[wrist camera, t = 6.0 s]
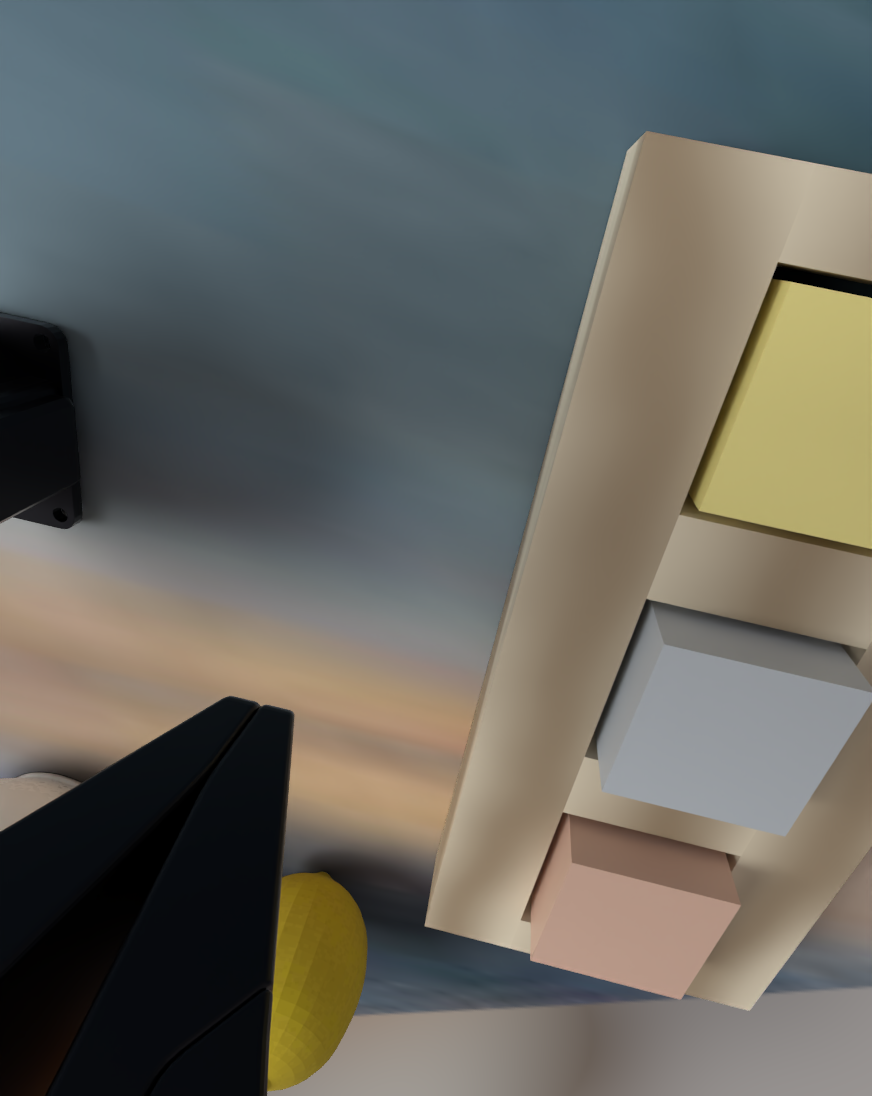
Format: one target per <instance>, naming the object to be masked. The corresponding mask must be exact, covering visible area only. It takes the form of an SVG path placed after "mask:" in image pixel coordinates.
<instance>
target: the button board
mask: <svg viewBox="0 0 872 1096" xmlns="http://www.w3.org/2000/svg"><path fill="white" fill-rule="evenodd" d="M776 266H778V267H783V268H788V269H793V270H798V271H803V272H808V273H813V274H818V275H823V276H828V277H833V278H838V279H843V280H848V281H853V282H858V283H863V284H868V285H872V174H868V173H863V172H858V171H853V170H848V169H842V168H837V167H832V166H827V165H821V164H816V163H811V162H806V161H800V160H795V159H790V158H785V157H779V156H774V155H769V154H764V153H759V152H753V151H748V150H743V149H738V148H732V147H727V146H722V145H717V144H711V143H706V142H701V141H696V140H690V139H685V138H680V137H675V136H670V135H664V134H659V133H654V132H649V131H646V132H645V133H644V134H643V135H642V136H641V137H640V138H639V139H638V140H637V141H636V142H635V143H634V144H633V146H632V147H631V148H630V149H629V150H628V151H627V153H626V157H625V161H624V164H623V168H622V172H621V175H620V179H619V183H618V186H617V190H616V194H615V198H614V201H613V205H612V209H611V212H610V216H609V220H608V223H607V227H606V231H605V235H604V238H603V242H602V246H601V249H600V253H599V257H598V260H597V264H596V268H595V271H594V275H593V279H592V283H591V286H590V290H589V294H588V297H587V301H586V305H585V308H584V312H583V316H582V320H581V323H580V327H579V331H578V334H577V338H576V342H575V345H574V349H573V353H572V356H571V360H570V364H569V368H568V371H567V375H566V379H565V382H564V386H563V390H562V393H561V397H560V401H559V404H558V408H557V412H556V416H555V419H554V423H553V427H552V430H551V434H550V438H549V441H548V445H547V449H546V453H545V456H544V460H543V464H542V467H541V471H540V475H539V478H538V482H537V486H536V489H535V493H534V497H533V501H532V504H531V508H530V512H529V515H528V519H527V523H526V526H525V530H524V534H523V538H522V541H521V545H520V549H519V552H518V556H517V560H516V563H515V567H514V571H513V574H512V578H511V582H510V586H509V589H508V593H507V597H506V600H505V604H504V608H503V611H502V615H501V619H500V622H499V626H498V630H497V634H496V637H495V641H494V645H493V648H492V652H491V656H490V659H489V663H488V667H487V671H486V674H485V678H484V682H483V685H482V689H481V693H480V696H479V700H478V704H477V707H476V711H475V715H474V719H473V722H472V726H471V730H470V733H469V737H468V741H467V744H466V748H465V752H464V756H463V759H462V763H461V767H460V770H459V774H458V778H457V781H456V785H455V789H454V792H453V796H452V800H451V804H450V807H449V811H448V815H447V818H446V822H445V826H444V829H443V833H442V837H441V840H440V844H439V848H438V852H437V855H436V861H435V867H434V873H433V879H432V885H431V891H430V897H429V903H428V909H427V915H426V921H425V926H426V927H430V928H433V929H437V930H441V931H445V932H449V933H453V934H456V935H460V936H464V937H468V938H472V939H476V940H479V941H483V942H487V943H491V944H495V945H499V946H502V947H506V948H510V949H514V950H518V951H522V952H525V953H529V954H530V948H531V892H532V890H533V887H534V885H535V882H536V879H537V877H538V874H539V872H540V869H541V867H542V864H543V862H544V859H545V856H546V854H547V851H548V849H549V846H550V844H551V841H552V839H553V836H554V833H555V831H556V828H557V826H558V823H559V821H560V818H561V816H562V813H563V812H564V813H568V814H572V815H576V816H580V817H584V818H588V819H592V820H596V821H600V822H604V823H608V824H612V825H616V826H620V827H624V828H628V829H632V830H636V831H641V832H645V833H649V834H653V835H657V836H661V837H665V838H669V839H673V840H677V841H681V842H685V843H689V844H693V845H697V846H701V847H705V848H709V849H713V850H717V851H721V852H725V854H726V857H727V860H728V863H729V867H730V870H731V873H732V877H733V880H734V883H735V887H736V890H737V893H738V897H739V900H740V903H741V907H740V908H739V910H738V911H737V913H736V914H735V916H734V917H733V919H732V921H731V922H730V924H729V925H728V927H727V928H726V930H725V931H724V933H723V935H722V936H721V938H720V939H719V941H718V942H717V944H716V945H715V947H714V949H713V950H712V952H711V953H710V955H709V956H708V958H707V959H706V961H705V963H704V964H703V966H702V967H701V969H700V970H699V972H698V973H697V975H696V977H695V978H694V980H693V981H692V983H691V984H690V986H689V987H688V989H687V991H686V992H685V994H687V995H690V996H694V997H698V998H702V999H706V1000H710V1001H713V1002H717V1003H721V1004H725V1005H729V1006H733V1007H737V1008H740V1009H744V1010H748V1011H750V1010H751V1008H752V1007H753V1005H754V1004H755V1003H756V1001H757V1000H758V999H759V997H760V996H761V995H762V993H763V992H764V991H765V989H766V988H767V987H768V985H769V984H770V983H771V981H772V980H773V979H774V977H775V976H776V975H777V973H778V972H779V971H780V969H781V968H782V967H783V965H784V964H785V963H786V961H787V960H788V959H789V957H790V956H791V954H792V953H793V952H794V950H795V949H796V948H797V946H798V945H799V944H800V942H801V941H802V940H803V938H804V937H805V936H806V934H807V933H808V932H809V930H810V929H811V928H812V926H813V925H814V924H815V922H816V921H817V920H818V918H819V917H820V915H821V914H822V913H823V911H824V910H825V909H826V907H827V906H828V905H829V903H830V902H831V901H832V899H833V898H834V897H835V895H836V894H837V893H838V891H839V890H840V889H841V887H842V886H843V885H844V883H845V882H846V881H847V879H848V878H849V876H850V875H851V874H852V872H853V871H854V870H855V868H856V867H857V866H858V864H859V863H860V862H861V860H862V859H863V858H864V856H865V855H866V854H867V852H868V851H869V850H870V848H871V847H872V703H871V704H870V706H869V707H868V709H867V710H866V712H865V713H864V715H863V717H862V718H861V720H860V721H859V723H858V724H857V726H856V727H855V729H854V731H853V732H852V734H851V735H850V737H849V738H848V740H847V741H846V743H845V745H844V746H843V748H842V749H841V751H840V752H839V754H838V755H837V757H836V759H835V760H834V762H833V763H832V765H831V766H830V768H829V770H828V771H827V773H826V774H825V776H824V777H823V779H822V780H821V782H820V784H819V785H818V787H817V788H816V790H815V791H814V793H813V794H812V796H811V798H810V799H809V801H808V802H807V804H806V805H805V807H804V808H803V810H802V812H801V813H800V815H799V816H798V818H797V819H796V821H795V822H794V824H793V826H792V827H791V829H790V830H789V832H788V833H787V835H786V836H780V835H776V834H772V833H768V832H764V831H760V830H756V829H752V828H748V827H744V826H740V825H736V824H732V823H728V822H724V821H719V820H715V819H711V818H707V817H703V816H699V815H695V814H691V813H687V812H683V811H679V810H675V809H671V808H667V807H663V806H658V805H654V804H650V803H646V802H642V801H638V800H634V799H630V798H626V797H622V796H618V795H614V794H610V793H606V792H602V788H601V780H600V771H599V762H598V753H597V744H596V735H595V729H596V726H597V724H598V721H599V718H600V716H601V713H602V711H603V708H604V706H605V703H606V701H607V698H608V695H609V693H610V690H611V688H612V685H613V683H614V680H615V678H616V675H617V672H618V670H619V667H620V665H621V662H622V660H623V657H624V655H625V652H626V649H627V647H628V644H629V642H630V639H631V637H632V634H633V632H634V629H635V626H636V624H637V621H638V619H639V616H640V614H641V611H642V609H643V606H644V603H645V601H646V599H649V600H653V601H658V602H662V603H666V604H671V605H675V606H679V607H684V608H688V609H693V610H697V611H701V612H706V613H710V614H714V615H719V616H723V617H727V618H732V619H736V620H741V621H745V622H749V623H754V624H758V625H762V626H767V627H771V628H775V629H780V630H784V631H788V632H793V633H797V634H802V635H806V636H810V637H815V638H819V639H823V640H828V641H832V642H836V643H840V645H841V646H842V647H843V649H844V650H845V651H846V653H847V654H848V655H849V657H850V658H851V659H852V661H853V662H854V663H855V665H856V666H857V668H858V669H859V670H860V672H861V673H862V674H863V676H864V677H865V678H866V680H867V681H868V682H869V684H870V685H871V686H872V549H869V548H865V547H860V546H856V545H851V544H847V543H842V542H838V541H833V540H829V539H824V538H820V537H815V536H811V535H806V534H802V533H797V532H792V531H788V530H783V529H779V528H774V527H770V526H765V525H761V524H756V523H752V522H747V521H743V520H738V519H734V518H729V517H725V516H720V515H716V514H711V513H707V512H702V511H699V510H698V508H697V507H696V505H695V503H694V502H693V500H692V498H691V497H690V495H689V493H688V491H689V488H690V486H691V483H692V481H693V478H694V476H695V473H696V471H697V468H698V465H699V463H700V460H701V458H702V455H703V453H704V450H705V448H706V445H707V443H708V440H709V437H710V435H711V432H712V430H713V427H714V425H715V422H716V420H717V417H718V414H719V412H720V409H721V407H722V404H723V402H724V399H725V397H726V394H727V391H728V389H729V386H730V384H731V381H732V379H733V376H734V374H735V371H736V368H737V366H738V363H739V361H740V358H741V356H742V353H743V351H744V348H745V345H746V343H747V340H748V338H749V335H750V333H751V330H752V328H753V325H754V322H755V320H756V317H757V315H758V312H759V310H760V307H761V305H762V302H763V299H764V297H765V294H766V292H767V289H768V287H769V284H770V282H771V279H772V276H773V274H774V271H775V269H776Z"/></svg>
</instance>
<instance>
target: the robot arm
mask: <svg viewBox="0 0 872 1096" xmlns="http://www.w3.org/2000/svg"><path fill="white" fill-rule="evenodd" d="M44 336H46V337H47V338H48V340H49V342H50V349H49V348H48V347H47V346H46V345H45V343H44V340H43V337H44ZM61 509H63V510H64V511H65V512H66V514H67V516H65V515H64V514H63V513H62V511H61ZM12 517H14V518H18V519H23V520H27V521H31V522H35V523H40V524H44V525H48V526H52V527H57V528H61V529H68V528H70V527H72V526H74V525H75V524H77V523H79V522H80V520H81V519H82V503H81V492H80V469H79V457H78V446H77V434H76V423H75V411H74V406H73V400H72V389H71V377H70V366H69V354H68V344H67V340H66V337H65V335H64V334H63V332H62V331H61V330H60V329H59V328H58V327H57V326H55V325H52V324H50V323H46V322H41V321H36V320H32V319H27V318H23V317H18V316H13V315H9V314H4V313H0V523H2V522H4V521H6V520H8V519H10V518H12ZM293 729H294V713H293V712H292V711H290V710H287V709H283V708H279V707H275V706H270V705H263V706H260V705H259V704H258V703H257V702H254V701H250V700H246V699H242V698H238V697H234V696H229V697H225V698H223V699H221V700H219V701H218V702H216V703H214V704H213V705H211V706H209V707H208V708H206V709H204V710H203V711H201V712H199V713H198V714H196V715H194V716H193V717H191V718H189V719H188V720H186V721H184V722H183V723H181V724H179V725H178V726H176V727H174V728H173V729H171V730H169V731H168V732H166V733H164V734H163V735H161V736H159V737H158V738H156V739H154V740H153V741H151V742H149V743H148V744H146V745H144V746H142V747H141V748H139V749H137V750H136V751H134V752H132V753H131V754H129V755H127V756H126V757H124V758H122V759H121V760H119V761H117V762H116V763H114V764H112V765H111V766H109V767H107V768H106V769H104V770H102V771H101V772H99V773H97V774H96V775H94V776H92V777H91V778H89V779H87V780H86V781H84V782H82V783H81V784H79V785H77V786H76V787H74V788H72V789H71V790H69V791H67V792H66V793H64V794H62V795H61V796H59V797H57V798H55V799H54V800H52V801H50V802H49V803H47V804H45V805H44V806H42V807H40V808H39V809H37V810H35V811H34V812H32V813H30V814H29V815H27V816H25V817H24V818H22V819H20V820H19V821H17V822H15V823H14V824H12V825H10V826H9V827H7V828H5V829H4V830H2V831H0V1096H267V1085H268V1063H269V1041H270V1028H271V1015H272V1002H273V984H274V971H275V958H276V946H277V933H278V920H279V907H280V895H281V882H282V869H283V856H284V843H285V831H286V818H287V805H288V792H289V780H290V767H291V754H292V741H293Z"/></svg>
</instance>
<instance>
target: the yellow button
mask: <svg viewBox="0 0 872 1096" xmlns="http://www.w3.org/2000/svg"><path fill="white" fill-rule="evenodd" d="M688 493H689V495H690V497H691V498H692V500H693V502H694V503H695V505H696V507H697V508H698V510H699V511H702V512H707V513H711V514H716V515H720V516H725V517H729V518H734V519H738V520H743V521H747V522H752V523H756V524H761V525H765V526H770V527H774V528H779V529H783V530H788V531H792V532H797V533H802V534H806V535H811V536H815V537H820V538H824V539H829V540H833V541H838V542H842V543H847V544H851V545H856V546H860V547H865V548H869V549H872V298H869V297H864V296H859V295H854V294H849V293H844V292H839V291H834V290H829V289H824V288H819V287H814V286H809V285H804V284H800V283H795V282H789V281H783V280H777V279H771V282H770V284H769V287H768V289H767V292H766V294H765V297H764V299H763V302H762V305H761V307H760V310H759V312H758V315H757V317H756V320H755V322H754V325H753V328H752V330H751V333H750V335H749V338H748V340H747V343H746V345H745V348H744V351H743V353H742V356H741V358H740V361H739V363H738V366H737V368H736V371H735V374H734V376H733V379H732V381H731V384H730V386H729V389H728V391H727V394H726V397H725V399H724V402H723V404H722V407H721V409H720V412H719V414H718V417H717V420H716V422H715V425H714V427H713V430H712V432H711V435H710V437H709V440H708V443H707V445H706V448H705V450H704V453H703V455H702V458H701V460H700V463H699V465H698V468H697V471H696V473H695V476H694V478H693V481H692V483H691V486H690V488H689V491H688Z"/></svg>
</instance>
